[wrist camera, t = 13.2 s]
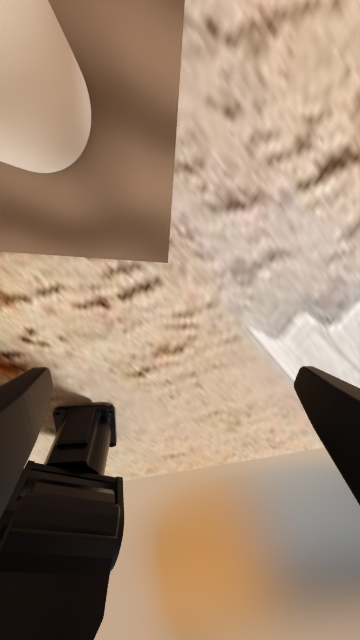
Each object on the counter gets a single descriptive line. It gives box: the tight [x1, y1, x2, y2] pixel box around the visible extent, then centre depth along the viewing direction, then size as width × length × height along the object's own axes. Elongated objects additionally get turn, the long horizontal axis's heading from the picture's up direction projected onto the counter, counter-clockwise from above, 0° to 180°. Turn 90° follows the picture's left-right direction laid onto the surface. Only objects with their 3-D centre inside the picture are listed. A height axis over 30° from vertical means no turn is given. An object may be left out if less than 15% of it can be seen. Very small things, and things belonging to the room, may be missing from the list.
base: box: [0, 0, 185, 263], centre depth 13 cm, size 16×16×2 cm
